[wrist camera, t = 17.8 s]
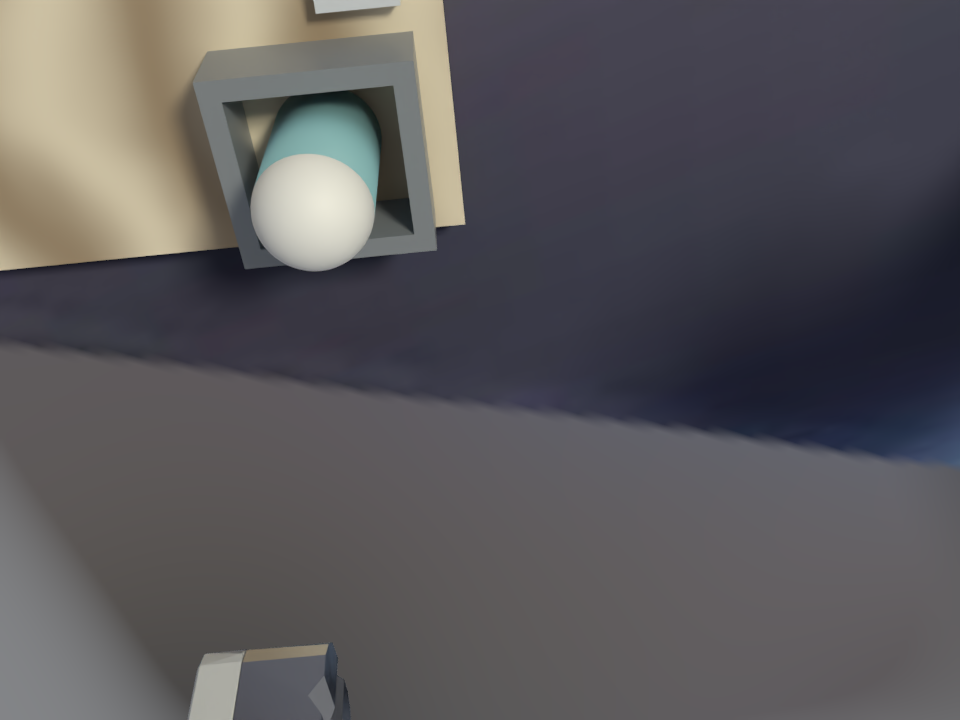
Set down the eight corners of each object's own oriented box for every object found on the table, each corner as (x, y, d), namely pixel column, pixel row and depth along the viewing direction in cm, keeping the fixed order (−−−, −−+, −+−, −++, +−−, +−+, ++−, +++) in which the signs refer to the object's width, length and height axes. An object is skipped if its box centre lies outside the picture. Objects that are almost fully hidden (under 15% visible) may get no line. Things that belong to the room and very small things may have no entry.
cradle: (412, 31, 34) (413, 60, 32) (435, 212, 39) (437, 250, 36) (207, 51, 34) (192, 82, 32) (254, 230, 39) (244, 269, 36)
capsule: (371, 79, 35) (358, 176, 29) (389, 178, 37) (381, 287, 31) (261, 92, 35) (225, 192, 29) (288, 190, 38) (259, 301, 31)
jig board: (404, -379, 28) (404, -379, 27) (463, 207, 40) (465, 224, 39) (-256, -313, 28) (-285, -311, 27) (7, 252, 40) (-5, 271, 39)
